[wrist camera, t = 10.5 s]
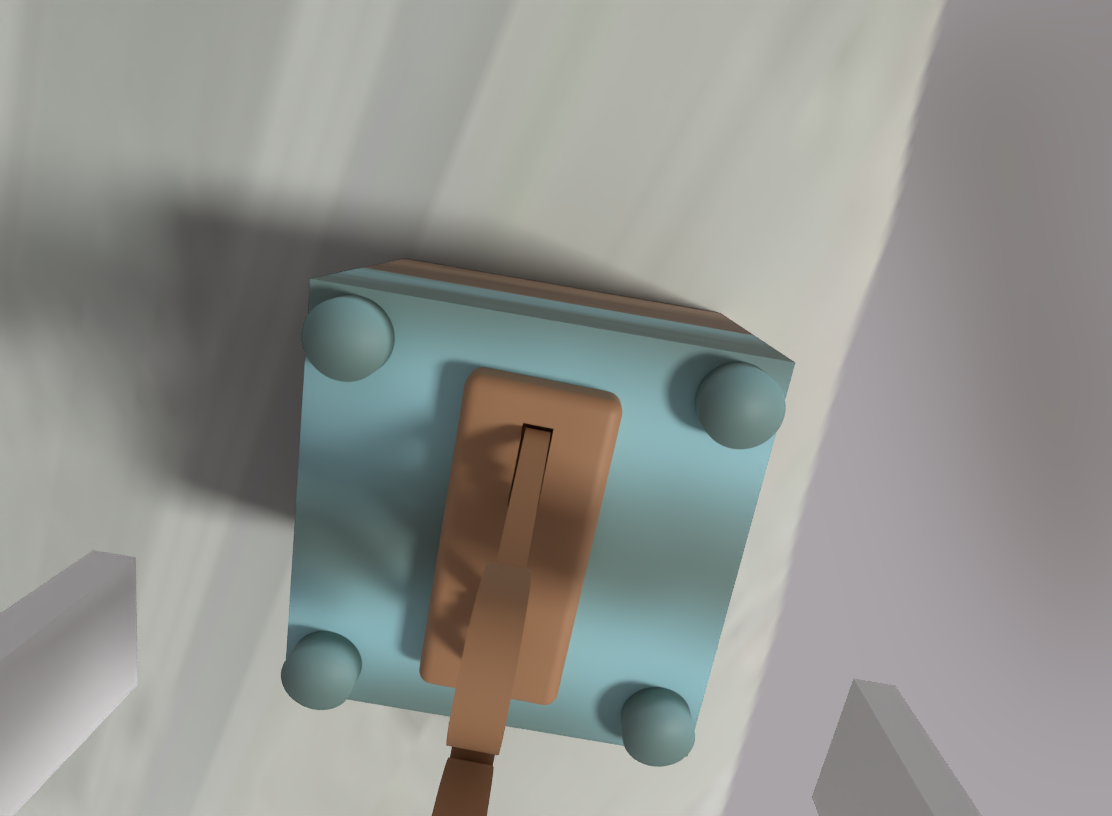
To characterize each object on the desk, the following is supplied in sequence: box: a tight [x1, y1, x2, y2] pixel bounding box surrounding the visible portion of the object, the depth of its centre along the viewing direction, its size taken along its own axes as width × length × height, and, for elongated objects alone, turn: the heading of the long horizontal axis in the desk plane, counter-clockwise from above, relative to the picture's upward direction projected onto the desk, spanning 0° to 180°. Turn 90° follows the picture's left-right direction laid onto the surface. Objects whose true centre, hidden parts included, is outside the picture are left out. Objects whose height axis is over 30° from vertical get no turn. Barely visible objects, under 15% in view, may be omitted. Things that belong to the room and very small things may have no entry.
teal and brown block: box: [281, 259, 795, 766], centre depth 22 cm, size 12×12×10 cm
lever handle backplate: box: [419, 367, 622, 816], centre depth 12 cm, size 9×4×12 cm, turn 169°
